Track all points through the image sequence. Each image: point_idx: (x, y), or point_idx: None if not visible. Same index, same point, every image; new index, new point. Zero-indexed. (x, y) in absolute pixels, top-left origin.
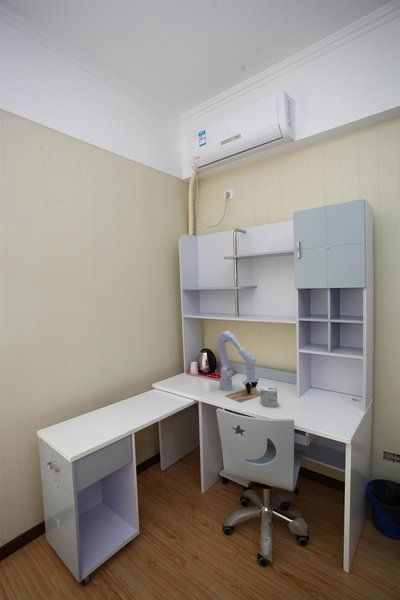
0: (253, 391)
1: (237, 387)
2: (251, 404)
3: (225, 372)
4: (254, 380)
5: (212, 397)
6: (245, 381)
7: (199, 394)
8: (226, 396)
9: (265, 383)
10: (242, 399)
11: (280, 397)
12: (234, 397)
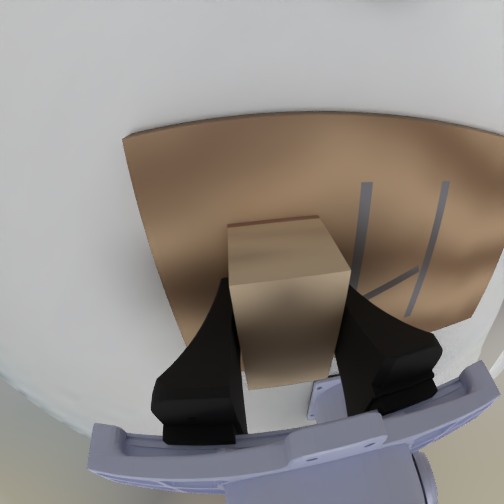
0: (315, 245)
1: (248, 405)
2: (475, 59)
3: (436, 497)
4: (312, 464)
5: (477, 331)
6: (460, 420)
7: (460, 371)
8: (474, 305)
9: (24, 361)
10: (486, 185)
11: (19, 15)
12: (474, 264)
